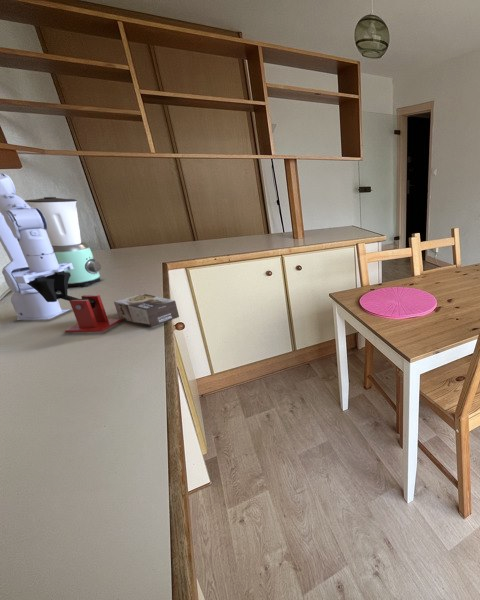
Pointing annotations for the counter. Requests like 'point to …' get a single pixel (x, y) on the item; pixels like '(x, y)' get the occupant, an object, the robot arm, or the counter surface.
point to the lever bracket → (90, 316)
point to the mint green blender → (68, 239)
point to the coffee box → (146, 309)
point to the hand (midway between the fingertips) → (57, 299)
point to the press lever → (60, 295)
